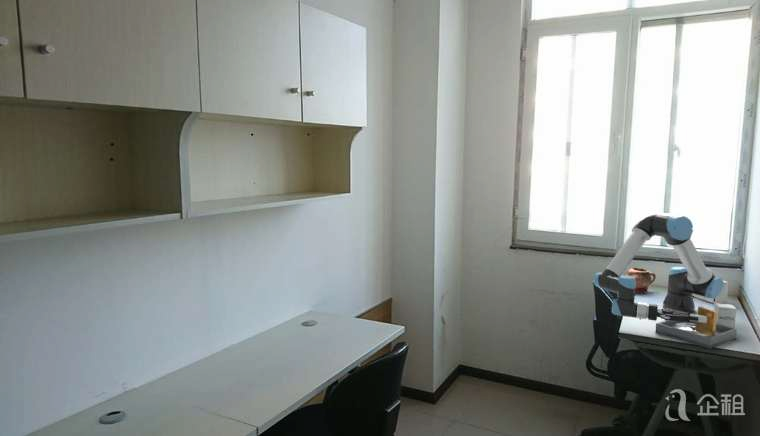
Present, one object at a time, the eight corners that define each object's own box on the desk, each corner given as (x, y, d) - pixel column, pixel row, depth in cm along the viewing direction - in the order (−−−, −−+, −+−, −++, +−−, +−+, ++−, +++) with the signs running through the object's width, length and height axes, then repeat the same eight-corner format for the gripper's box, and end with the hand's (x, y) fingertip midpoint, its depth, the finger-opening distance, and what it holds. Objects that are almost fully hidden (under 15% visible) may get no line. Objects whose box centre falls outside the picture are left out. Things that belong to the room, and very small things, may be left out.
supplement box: (715, 332, 243) (718, 306, 241) (712, 327, 250) (714, 302, 248) (734, 334, 240) (736, 308, 239) (729, 329, 247) (732, 304, 246)
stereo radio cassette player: (727, 304, 289) (730, 269, 286) (715, 305, 287) (718, 270, 284) (696, 294, 309) (699, 261, 306) (685, 295, 307) (688, 262, 304)
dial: (665, 327, 244) (667, 301, 243) (694, 324, 249) (696, 299, 247) (697, 340, 227) (700, 313, 226) (728, 337, 232) (730, 310, 230)
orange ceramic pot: (645, 288, 322) (647, 266, 320) (660, 293, 310) (662, 270, 308) (618, 289, 317) (620, 267, 315) (632, 295, 305) (634, 272, 304)
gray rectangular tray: (681, 323, 255) (682, 314, 255) (735, 338, 235) (736, 329, 235) (655, 332, 242) (656, 323, 242) (709, 348, 222) (710, 338, 222)
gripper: (647, 315, 248) (704, 323, 237) (647, 323, 236) (707, 332, 225) (648, 300, 247) (706, 307, 236) (648, 307, 235) (708, 315, 224)
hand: (706, 319), depth 231 cm, fingers closed
